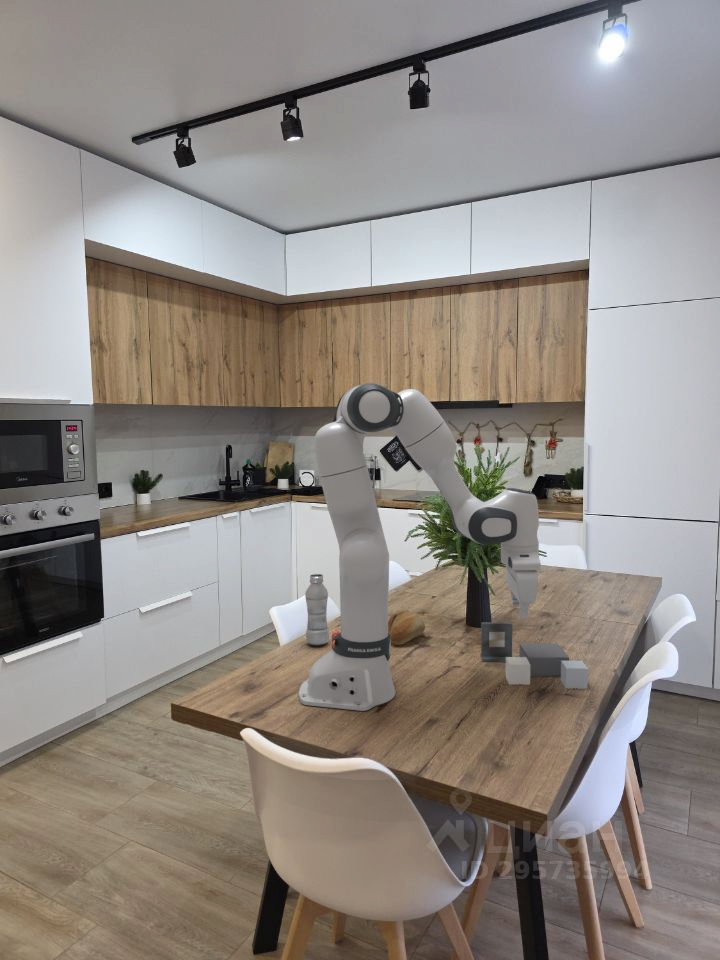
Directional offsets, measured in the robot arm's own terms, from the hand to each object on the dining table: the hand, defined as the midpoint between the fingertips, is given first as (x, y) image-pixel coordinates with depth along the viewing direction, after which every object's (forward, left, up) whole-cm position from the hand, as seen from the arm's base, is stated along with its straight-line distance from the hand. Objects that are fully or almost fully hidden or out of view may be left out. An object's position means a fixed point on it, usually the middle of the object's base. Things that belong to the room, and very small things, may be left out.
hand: (519, 611), depth 158 cm
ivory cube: (0, 0, -17) cm, 17 cm away
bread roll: (-27, +29, -18) cm, 43 cm away
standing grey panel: (-3, +14, -17) cm, 22 cm away
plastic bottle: (-52, +24, -17) cm, 60 cm away
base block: (+8, +8, -18) cm, 21 cm away
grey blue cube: (+13, -2, -17) cm, 22 cm away
